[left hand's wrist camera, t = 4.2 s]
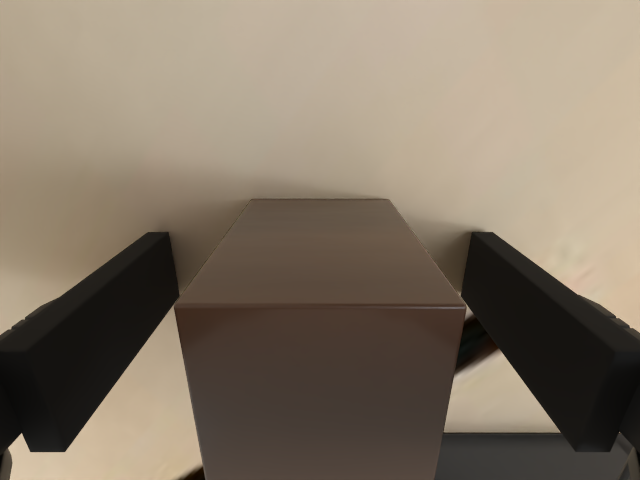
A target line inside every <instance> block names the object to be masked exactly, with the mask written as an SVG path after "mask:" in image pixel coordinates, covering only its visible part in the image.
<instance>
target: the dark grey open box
mask: <svg viewBox="0 0 640 480" xmlns="http://www.w3.org/2000/svg"><path fill="white" fill-rule="evenodd" d="M632 448H633V446H632V444H631V443H630V442H629V441H628V440H627V439H626V438H625V437H624V436H623V435H622V434H618V436H617V438H616V440H615V442H614V445H613V447H612V449H611V451H610V452H575V451H574V449H573V448H572V447H571V445H570V444H569V442H568V441H567V440H566V438H565V437H564V436H563V434H443V436H442V441H441V447H440V452H439V457H438V463H437V468H436V473H435V479H434V480H617V479H618V477H619V475H620V473H621V470H622V468H623V466H624V464H625V462H626V460H627V458H628V456H629V454H630V452H631V450H632Z"/></svg>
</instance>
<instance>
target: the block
mask: <svg viewBox="0 0 640 480" xmlns="http://www.w3.org/2000/svg"><path fill="white" fill-rule="evenodd" d="M466 308H467V307H466V304H465V303H464V301H463V300H462V299H461V297H460V296H459V294H458V293H457V292H456V290H455V289H454V288H453V286H452V285H451V283H450V282H449V281H448V279H447V278H446V277H445V275H444V274H443V273H442V271H441V270H440V268H439V267H438V266H437V264H436V263H435V262H434V260H433V259H432V257H431V256H430V255H429V253H428V252H427V251H426V249H425V248H424V247H423V245H422V244H421V242H420V241H419V240H418V238H417V237H416V236H415V234H414V233H413V231H412V230H411V229H410V227H409V226H408V225H407V223H406V222H405V221H404V219H403V218H402V216H401V215H400V214H399V212H398V211H397V210H396V208H395V207H394V205H393V204H392V203H391V201H390V200H388V199H252V200H251V201H250V202H249V203H248V205H247V206H246V207H245V209H244V210H243V211H242V213H241V214H240V216H239V217H238V218H237V220H236V221H235V222H234V224H233V225H232V226H231V228H230V229H229V231H228V232H227V233H226V235H225V236H224V237H223V239H222V240H221V242H220V243H219V244H218V246H217V247H216V248H215V250H214V251H213V252H212V254H211V255H210V257H209V258H208V259H207V261H206V262H205V263H204V265H203V266H202V267H201V269H200V270H199V272H198V273H197V274H196V276H195V277H194V278H193V280H192V281H191V282H190V284H189V285H188V287H187V288H186V289H185V291H184V292H183V293H182V295H181V296H180V297H179V299H178V300H177V302H176V303H175V305H174V310H175V316H176V321H177V327H178V332H179V338H180V343H181V348H182V354H183V359H184V365H185V370H186V376H187V381H188V386H189V392H190V397H191V403H192V408H193V414H194V419H195V425H196V430H197V435H198V441H199V446H200V452H201V457H202V463H203V468H204V473H205V479H206V480H434V479H435V473H436V468H437V463H438V457H439V452H440V447H441V441H442V436H443V431H444V426H445V420H446V415H447V410H448V404H449V399H450V394H451V388H452V383H453V378H454V372H455V367H456V362H457V356H458V351H459V346H460V340H461V335H462V330H463V325H464V319H465V314H466Z"/></svg>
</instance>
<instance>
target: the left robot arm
mask: <svg viewBox="0 0 640 480" xmlns="http://www.w3.org/2000/svg"><path fill="white" fill-rule="evenodd" d="M179 296H180V295H179V290H178V284H177V278H176V272H175V267H174V261H173V255H172V250H171V244H170V238H169V232H148V233H146V234H145V235H143V236H142V237H141V238H139V239H138V240H137V241H135V242H134V243H133V244H131V245H130V246H129V247H127V248H126V249H124V250H123V251H122V252H120V253H119V254H118V255H116V256H115V257H114V258H112V259H111V260H109V261H108V262H107V263H105V264H104V265H103V266H101V267H100V268H99V269H97V270H96V271H95V272H93V273H92V274H90V275H89V276H88V277H86V278H85V279H84V280H82V281H81V282H80V283H78V284H77V285H76V286H74V287H73V288H71V289H70V290H69V291H67V292H66V293H65V294H63V295H62V296H61V297H59V298H57V299H55V300H53V301H50V302H48V303H46V304H44V305H42V306H40V307H39V308H38V309H36V310H35V311H33V312H32V313H31V314H29V315H28V316H26V317H25V320H21V321H19V322H18V323H17V324H15V325H14V326H12V329H11V330H7V331H5V332H4V333H3V334H1V335H0V480H9V479H10V474H11V468H12V457H11V454H10V452H9V450H8V447H9V446H10V445H11V444H12V443H13V442H14V441H15V439H16V438H17V437H18V436H19V435H20V434H21V433H22V434H23V437H24V439H25V441H26V443H27V445H28V448H29V450H30V452H65V451H66V450H67V448H68V447H69V446H70V444H71V443H72V442H73V440H74V439H75V438H76V436H77V435H78V434H79V432H80V431H81V429H82V428H83V427H84V425H85V424H86V423H87V421H88V420H89V419H90V417H91V416H92V415H93V413H94V412H95V410H96V409H97V408H98V406H99V405H100V404H101V402H102V401H103V400H104V398H105V397H106V396H107V394H108V393H109V391H110V390H111V389H112V387H113V386H114V385H115V383H116V382H117V381H118V379H119V378H120V377H121V375H122V374H123V372H124V371H125V370H126V368H127V367H128V366H129V364H130V363H131V362H132V360H133V359H134V358H135V356H136V355H137V353H138V352H139V351H140V349H141V348H142V347H143V345H144V344H145V343H146V341H147V340H148V338H149V337H150V336H151V334H152V333H153V332H154V330H155V329H156V328H157V326H158V325H159V324H160V322H161V321H162V319H163V318H164V317H165V315H166V314H167V313H168V311H169V310H170V309H171V307H172V306H173V305H174V303H175V302H176V300H177V299H178V298H179ZM461 297H462V299H463V300H464V301H465V303H466V304H467V305H468V307H469V308H470V309H471V311H472V312H473V313H474V315H475V316H476V318H477V319H478V320H479V322H480V323H481V324H482V326H483V327H484V328H485V330H486V331H487V332H488V334H489V335H490V337H491V338H492V339H493V341H494V342H495V343H496V345H497V346H498V347H499V349H500V350H501V351H502V353H503V354H504V356H505V357H506V358H507V360H508V361H509V362H510V364H511V365H512V366H513V368H514V369H515V370H516V372H517V373H518V375H519V376H520V377H521V379H522V380H523V381H524V383H525V384H526V385H527V387H528V388H529V390H530V391H531V392H532V394H533V395H534V396H535V398H536V399H537V400H538V402H539V403H540V404H541V406H542V407H543V409H544V410H545V411H546V413H547V414H548V415H549V417H550V418H551V419H552V421H553V422H554V423H555V425H556V426H557V428H558V429H559V430H560V432H561V433H562V434H563V436H564V437H565V438H566V440H567V441H568V442H569V444H570V445H571V447H572V448H573V449H574V451H575V452H610V451H611V449H612V447H613V445H614V442H615V440H616V438H617V436H618V433H619V431H620V433H621V434H622V435H623V436H624V437H625V438H626V439H627V440H628V441H629V442H630V443H631V444H632V446H633V448H632V450H631V452H630V454H629V456H628V458H627V460H626V462H625V464H624V466H623V468H622V470H621V473H620V475H619V477H618V479H617V480H640V333H639V332H638V331H636V330H635V329H633V328H630V326H629V325H628V324H626V323H625V322H623V321H622V320H621V319H619V318H616V316H615V315H614V314H612V313H611V312H609V311H608V310H607V309H605V308H604V307H602V306H601V305H600V304H597V303H595V302H593V301H591V300H589V299H587V298H585V297H582V296H580V295H577V294H576V293H575V292H573V291H572V290H570V289H569V288H568V287H566V286H565V285H564V284H562V283H561V282H560V281H558V280H557V279H555V278H554V277H553V276H551V275H550V274H549V273H547V272H546V271H545V270H543V269H542V268H541V267H539V266H538V265H536V264H535V263H534V262H532V261H531V260H530V259H528V258H527V257H526V256H524V255H523V254H521V253H520V252H519V251H517V250H516V249H515V248H513V247H512V246H511V245H509V244H508V243H507V242H505V241H504V240H502V239H501V238H500V237H498V236H497V235H496V234H494V233H493V232H472V235H471V241H470V247H469V252H468V258H467V264H466V269H465V275H464V281H463V286H462V292H461Z"/></svg>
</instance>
